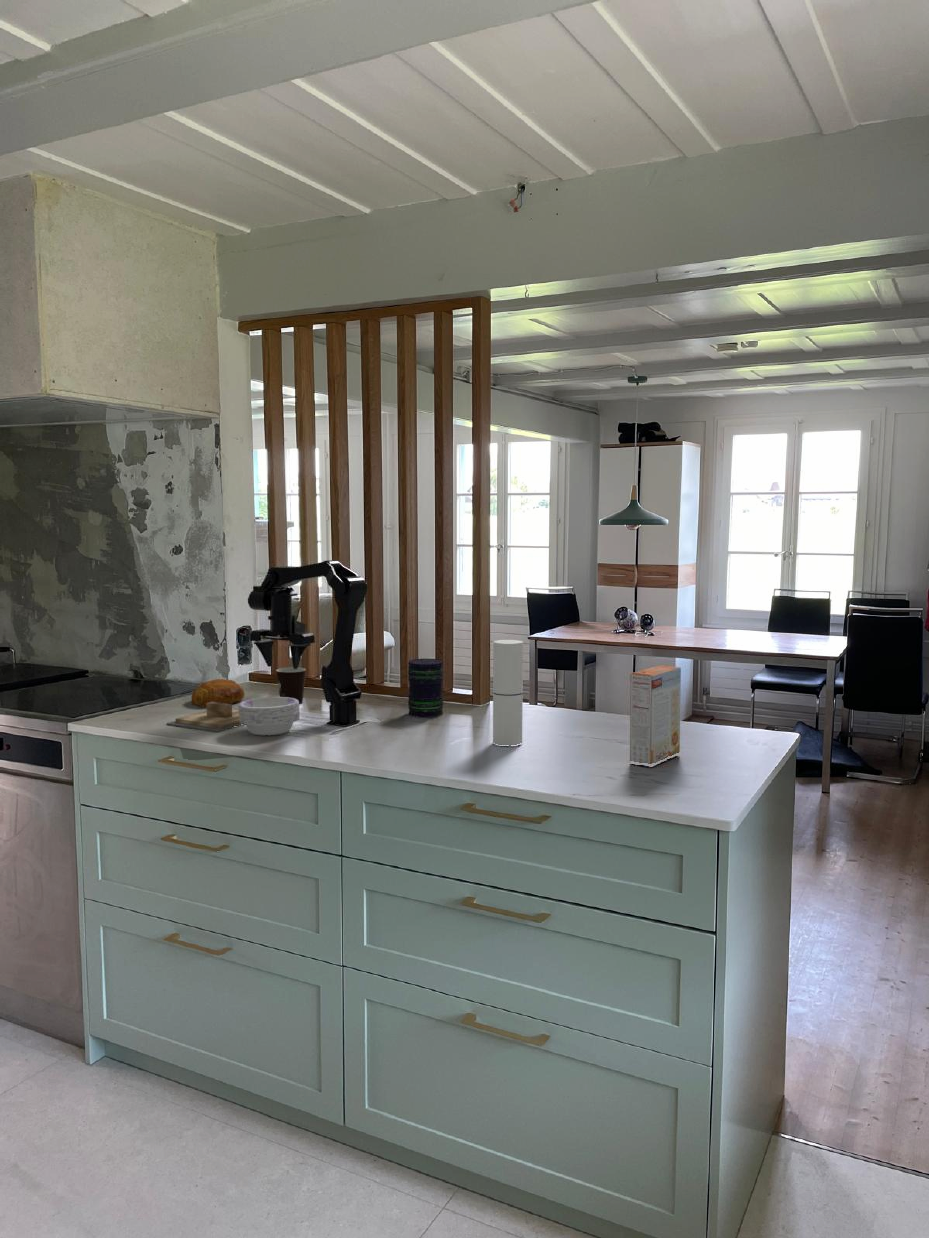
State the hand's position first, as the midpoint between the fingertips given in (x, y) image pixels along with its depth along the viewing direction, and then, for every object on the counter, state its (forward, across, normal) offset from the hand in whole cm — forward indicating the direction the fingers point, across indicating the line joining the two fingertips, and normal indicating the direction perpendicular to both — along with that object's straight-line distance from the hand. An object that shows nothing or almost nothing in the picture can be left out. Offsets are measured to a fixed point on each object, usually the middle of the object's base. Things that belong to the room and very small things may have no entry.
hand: (282, 667), depth 258 cm
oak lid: (+13, +9, +16) cm, 22 cm away
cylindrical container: (+13, -70, +1) cm, 71 cm away
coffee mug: (+13, +8, -14) cm, 21 cm away
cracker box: (+13, -106, -1) cm, 107 cm away
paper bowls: (+13, -11, +19) cm, 26 cm away
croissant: (+14, +28, -4) cm, 31 cm away
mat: (+13, +9, +16) cm, 22 cm away
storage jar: (+13, -35, -19) cm, 42 cm away
